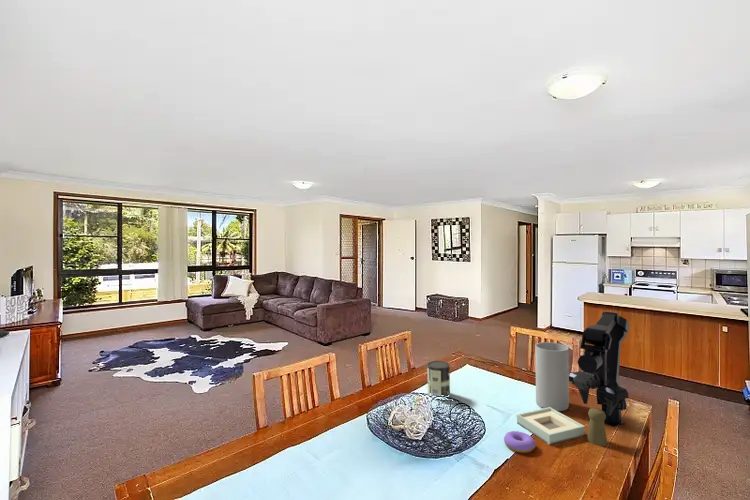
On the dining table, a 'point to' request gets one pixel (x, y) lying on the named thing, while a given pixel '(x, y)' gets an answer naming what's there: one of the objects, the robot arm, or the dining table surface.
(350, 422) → the dining table surface
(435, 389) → the coffee can
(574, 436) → the square tray
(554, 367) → the cylinder vase
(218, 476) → the dining table surface
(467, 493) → the dining table surface
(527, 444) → the donut
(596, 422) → the pepper shaker
